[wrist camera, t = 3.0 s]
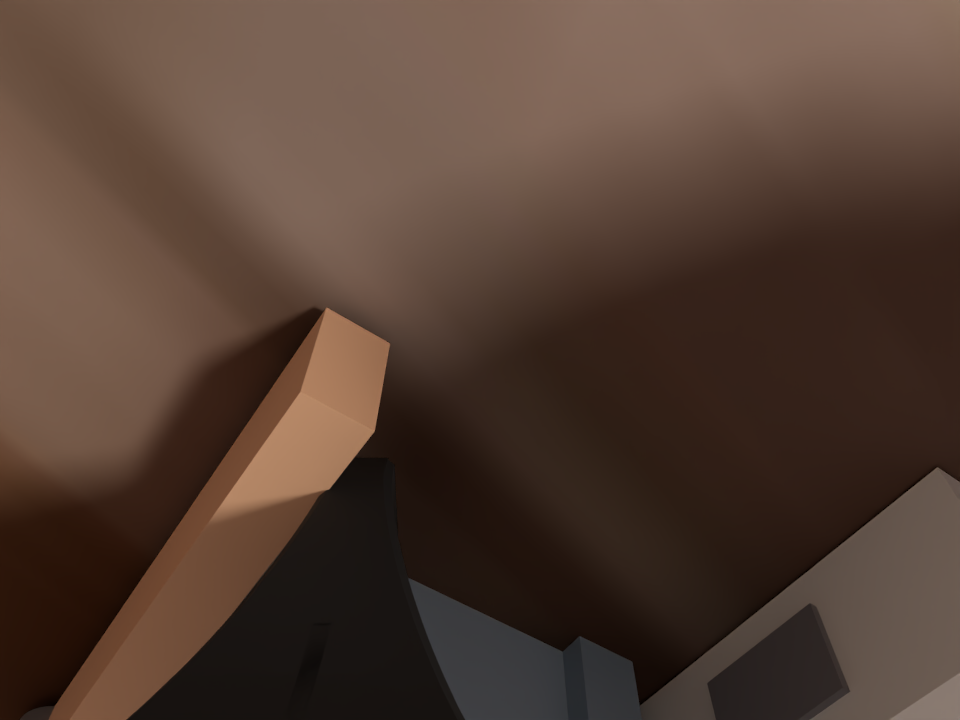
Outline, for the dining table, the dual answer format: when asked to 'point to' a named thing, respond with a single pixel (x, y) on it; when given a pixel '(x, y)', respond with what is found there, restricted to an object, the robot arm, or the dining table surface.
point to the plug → (522, 668)
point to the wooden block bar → (237, 520)
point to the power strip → (847, 630)
